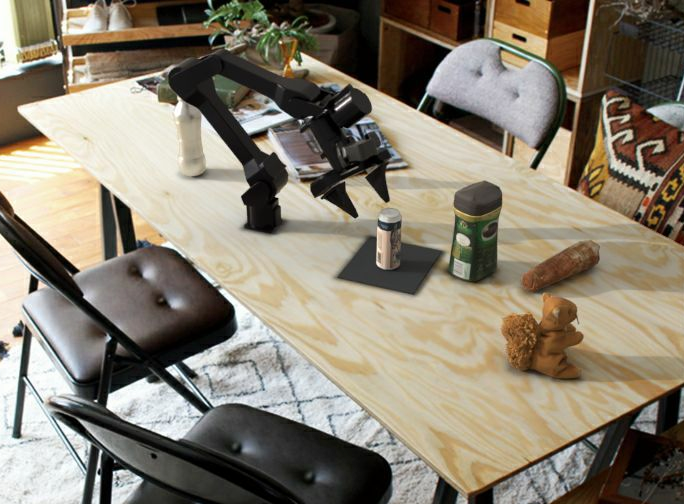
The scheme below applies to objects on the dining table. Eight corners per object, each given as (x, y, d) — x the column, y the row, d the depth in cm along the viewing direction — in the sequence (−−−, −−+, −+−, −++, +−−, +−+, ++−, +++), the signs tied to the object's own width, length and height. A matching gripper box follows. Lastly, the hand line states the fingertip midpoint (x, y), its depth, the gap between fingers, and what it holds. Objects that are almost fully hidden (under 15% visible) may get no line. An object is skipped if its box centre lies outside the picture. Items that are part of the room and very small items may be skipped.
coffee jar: (473, 255, 213) (480, 173, 201) (502, 270, 208) (511, 186, 197) (441, 271, 207) (446, 187, 196) (470, 287, 203) (478, 202, 192)
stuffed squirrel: (584, 379, 179) (595, 316, 171) (504, 381, 178) (511, 318, 170) (570, 346, 187) (581, 284, 179) (494, 348, 186) (501, 286, 178)
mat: (337, 277, 204) (337, 276, 204) (369, 237, 218) (369, 235, 218) (413, 294, 200) (413, 293, 200) (441, 251, 214) (441, 250, 213)
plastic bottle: (212, 171, 241) (206, 89, 230) (194, 182, 237) (186, 98, 225) (191, 164, 244) (184, 82, 232) (172, 175, 240) (164, 92, 228)
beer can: (397, 272, 206) (400, 219, 199) (374, 270, 207) (375, 216, 199) (401, 260, 210) (404, 208, 202) (378, 258, 210) (380, 205, 203)
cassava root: (600, 269, 209) (605, 245, 206) (532, 298, 200) (536, 274, 196) (578, 256, 213) (582, 232, 210) (510, 284, 204) (513, 260, 200)
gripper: (320, 136, 191) (362, 209, 192) (386, 108, 202) (426, 177, 203) (291, 162, 200) (332, 231, 201) (356, 134, 211) (395, 200, 212)
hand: (372, 209), depth 204 cm, fingers open, 9 cm apart
